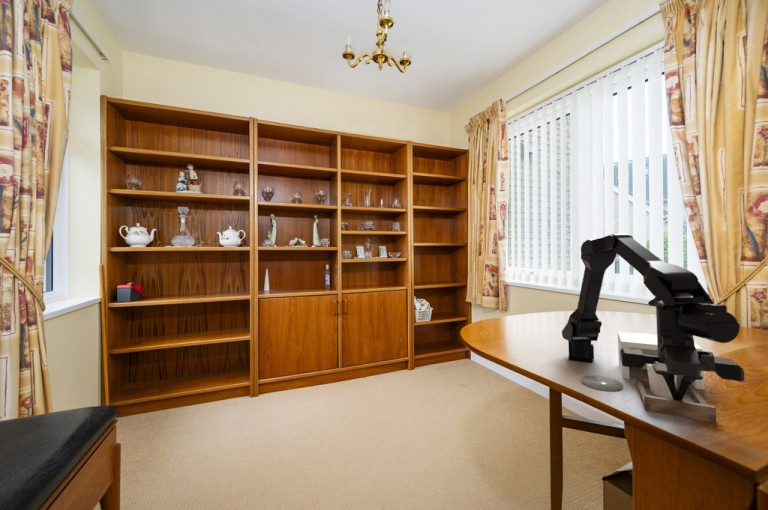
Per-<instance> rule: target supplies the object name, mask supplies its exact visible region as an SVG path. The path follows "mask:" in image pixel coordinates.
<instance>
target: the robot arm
mask: <svg viewBox="0 0 768 510" xmlns="http://www.w3.org/2000/svg"><path fill="white" fill-rule="evenodd" d="M617 255H618V256H619V257H620V258H622V259H623V260H624V261H625V262H626V263H628V264H629V265H630V266H631V267H632V268H633V269H635V270H636V271H637V273H639V274H640V275H641V276H642V277H643V278H642V279H643V284H644V286H645V288H647V289H648V291H649V293H651V295H653V296H654V298H653V299H651V300H649V301H648V302H647V305H649V306H651V307H655V309H656V310H655V311H656V312H655V313H656V314H655V318H656V335H657V348H658V356H653V355H644V354H643V352H642V350H639V349H630V348H622V349H621V350H620V360H621V363H622V366H625V367H629V368H633V369H640V370H642V369H641V368H642V367H644V366H645V364H652V368H653V369H654V371H655V373H656V374H659V375H662V376H663V378H664V379H665V382H666V384H667V386H668V388H669V391H670V393H671V396H672V398H673V399H674V400H680V401H683V398H684V397H685V394H687V393H686V391H687V389H688V387H689V386H691V385H692V382H694V381H695V380H702V379H703V377H702V376H701V371H703V372H709V373H710V372H713V373H715V374H716V375H717V376H718V377H719V378H721V379H722V380H728V381H736V382H745V371H744V368H743V367H742V366H740V365H739V364H738V363H737V362H735V361H734V360H733V359H732V358H727V357H718V356H717V357H716V356H715V355H714V353H713V352H712V351H704V350H703V351H697V350H696V348H695V346H694V342H695V338H694V336H695V337H697V338H700V339H701V338H702V339H706V340H708V341H713V342H715V343H721V344H727V343H731V342H732V341H734V340H735V339H736V338H737V336H738V335H739V333H740V329H741V326H740V323H739V322H738V320H737V319H736V317H735V316H734V315H733V314H732V313H730V312H728V306H727V305H726V304H720V303H718V304H714V303H715V302H714V301H713V300H712V298H711V296H710V295H709V294H708V292H707V291H706V290H705V288H704V287H703V285H702V284H701V283H700V281H699V278H698V276H697V275H696V274H695V273H694V272H692V271H691V270H688V269H686V268H684V267H682V266H679V265H676V264H673V263H669V262H666V261H664V260H663V259H661V258H659V257H658V256H657V255H656V254H654V253H653V252H651V251H650V250H649V249H647V248H646V247H645V246H644V245H642V244H641V243H640V242H638V241H636V239H634V237H633V236H632V234H629V233H611V234H608V235H606V236H604V237H600V238H599V237H598V238H594V239H586V240H585V241H583V242H582V245H581V246H580V259H581V261H582V263H583V265H584V272H583V277H582V281H581V282H582V283H581V287H580V293H579V295H578V296H579V298H578V302H577V308H576V309H575V310H574V311H573V312H572V313H571V314H570V315H569V317H568V320H567V323H566V324H565V326H564V327H563V328H562V330H561V335H562V339H564V340H565V341H568V345H567V346H568V358H567V360H569V361H577V362H583V363H584V362H585V363H593V360H595V351H594V344H592V342H594V341H595V342H597V341H598V338H599V334H600V333H601V327H602V324H603V323H602V321H601V320H600V319H599V317H598V316H597V309H598V304H599V299H600V296H601V291H602V290H601V289H602V286H603V282H604V281H603V280H604V276H605V274H606V273H605V271H606V270H607V269H608V268H609V267H610V266H611V265H612V264H613V263H614V262H615V259H616V256H617ZM700 359H701V360H700ZM664 361H665V362H664ZM674 375H677V380H676V386H675V380H674Z"/></svg>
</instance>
